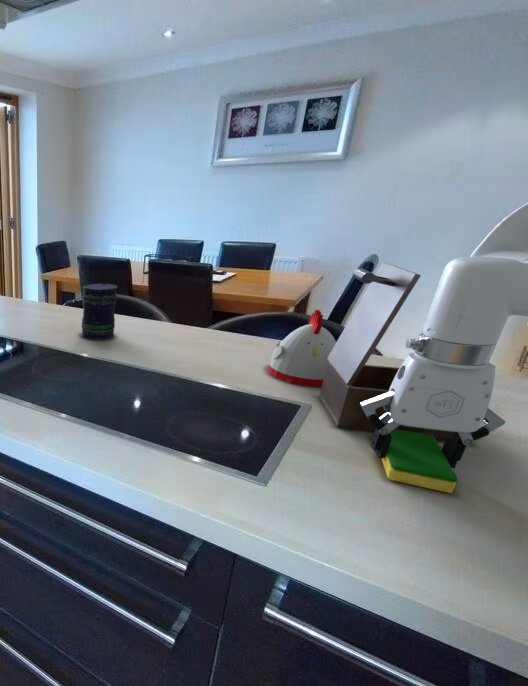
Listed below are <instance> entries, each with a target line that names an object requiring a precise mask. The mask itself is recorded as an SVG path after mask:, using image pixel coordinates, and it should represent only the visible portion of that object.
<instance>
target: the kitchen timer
mask: <svg viewBox="0 0 528 686" xmlns="http://www.w3.org/2000/svg"><path fill="white" fill-rule="evenodd" d="M323 317H324V314H322V311H321V310H320V309H314V312H313V313H311V316H309V317H308V324H305V325H302V326H300V327H298V328H296V329H294V330H293V331H291V332H290V333H288V335H287V336H285V338H283V339H282V340H281V341H280V340H278V341H277V343H276V346H275V347H274V350H273V352H272V356H271V358H270V361H269V364H268V369H267V371H268V373H269V374H270V375H271V376H272V377H274V378H276V379H278V380H280V381H283V382H287V383H289V384H292V385H298V386H299V385H300V386H304V387H314V388H317V387H318V388H319V387H320V388H321V387H322V384H323V380H324V376H325V373H326V369H327V365H328V362H329V361H328V359H327V358H328V356H329V354H330V353H331V351H332V349H333V348H334V346H335V344H336V342H337V340H336V339H335V337H334V336H333V335H332V333H331V332H330V331H329V330H328V329H326V327H323V325H324V321H323Z"/></svg>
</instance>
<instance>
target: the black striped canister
mask: <svg viewBox="0 0 528 686" xmlns="http://www.w3.org/2000/svg"><path fill="white" fill-rule="evenodd" d="M82 287H83V288H82V289H83V291H82V307H83V309H82V310H83V311H82V318H81V336H82V338H83V339H87V340H91V341H106V340H111V339H113V338H114V337H115V336H114V335H115V334H114V333H115V329H116V328H115V327H116V322H115V321H116V318H115V309H116V304H117V297H118V296H117V290H118V286H117V285H116V284H112V283H106V282H100V283H99V282H96V283H87V284H84V285H83V286H82Z"/></svg>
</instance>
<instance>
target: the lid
mask: <svg viewBox="0 0 528 686" xmlns="http://www.w3.org/2000/svg"><path fill="white" fill-rule="evenodd" d="M352 277H353V278H354V279H356V280H358V281H359V282H361V283H363V284H366V285H368V284H369V285H368V287H367V288H366V290H365V292H364V294H363V296H362V297H361V299H360V301H359V303H358V304H357V306H356V308H355V310H354V311H353V313H352V315H350V318H349V320H348V322H347V324H346V325H345V327H344V328H343V330H342V332H341V334H340V335H339V337H338V339H337V340H336V344H335V346H334V348H333V349H332V351H331V353H330V354H329V356H328V358H327V359H328V361H329V362H330V363H331V365H332V366H333V367H334V368H335V370H336V371H337V372H338V374H339V375H340V376H341V377H342V379H343V380H344V381H345V382H346V384H347V385H351V386H352V385H353V383H354V381H355V380H356V378H357V377H358V375H359V373H360V372H361V370H362V369H363V367H364V365H367V362H368V361H369V359H370V357H371V356H372V354H373V353H374V351H375V349H376V348H377V346H379V344H380V341H381V340H382V339H383V337H384V335H385V333H386V332H387V331H388V329H389V327H390V325H391V324H392V323H393V321H394V319H395V318H396V316H397V314H398V313H399V312H400V310H401V308H402V306H403V305H404V303H406V300H407V299H408V297H409V295H410V293H412V290H413V289H414V287H415V286H416V285H417V283H418V281H419V279H420V278H421V277H422V276H421V274H420V273H416V272H414V271H411V270H409V269H406V268H403V267H400V266H397V265H395V264H392V263H390V262H385V261H382V262H381V265H380V266H379V268H378V270H377V272H376V273H375V274H374V273H373V272H371V271H369V270H366V269H364V268H362V267H361V268H360V267H359V268H356V269H355V270H354V271H353V272H352Z"/></svg>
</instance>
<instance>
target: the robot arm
mask: <svg viewBox="0 0 528 686" xmlns="http://www.w3.org/2000/svg"><path fill="white" fill-rule="evenodd" d="M427 313H428V314H427V316H426V318H425V322H424V325H423V327H422V331H421V333H419V334H418V337H417V338H408V339H406V341H405V348H406V349H412V350H413V351H414V352H409V353H408V354H407V356H406V357H405V359H404V360H403V362H402V364H401V365H400V367H398V368H399V370H398V372H397V374H396V376H395V378H394V380H393V382H392V384H391V386H390V389H389V391H388V393H385V394H382V395H379V396H377V397H374V398H371V399H368V400H365V401H363V402H361V403H360V406H361V408H362V410H363V411H364V413H365V415H366V417H367V418H368V419H369V421H370V422H371V423H372V424H373V425H374V427H375V428H376V430H375V432H373V436H372V439H371V442H370V448H371V449H372V451H373V452H374V453H375V455H376V456H377V458H378V459H382V458H385V456H386V453H387V451H388V448H389V445H390V442H391V439H392V436H391V435H390V432H391V431H393V430H394V429H395V428H397V427H398V426H400V425H403V426H409V427H417V428H425V429H433V430H441V431H450V432H453V435H449V436H448V437H447V438H446V440H445V441H444V443H443V445H442V448H441V450H442V451H443V453H444V455H445V457H446V459H447V460H448V462H449V464H450V466H451V468H452V469H455V468H456V466H457V464H458V462H460V461H461V460H462V457H463V455H464V453H465V451H466V449H467V447H469V446H472V445H473V444H474V443H475V441H477V440H479V439H482V438H485V437H486V436H489V434H490V432H494V431H495V430H497V429H499V428H500V427H502V426H504V425H505V424H506V421H505V419H503V418H502V417H501V416H499V415H498V414H497V413H496V412H494V411H493V410H491V409H490V408H489V405H490V402H491V398H492V395H493V391H494V385H495V379H496V367H497V366H496V365H495V364H494V363H491V362H490V361H491V358H492V356H493V353H494V351H495V348H496V346H497V344H498V342H499V339H500V337H501V335H502V332H503V330H504V327H505V326H506V323H507V321H508V319H509V317H512V316H521V317H522V316H523V317H528V202H526V203H524V204H523V205H521V206H519V207H518V208H517V209H515V210H514V211H512V212H511V213H510V214H508V215H507V216H505V217H504V218H503V219H502V220H501V221H500V222H498V223H497V225H496V226H495V227H493V228H492V230H491V231H490V232H489V233H488V234H487V235H486V236H485V238H483V240H481V242H480V243H479V244H478V246H477V247H476V248H475V249H474V250H473V251H472V253H471V254H470V255H469V256H463V257H462V256H461V257H456V258H454V259H451V260H450V261H448V263H446V265H445V267H444V268H443V270H442V273H441V276H440V279H439V282H438V286H437V288H436V291H435V293H434V296H433V299H432V302H431V305H430V308H429V311H428V312H427ZM382 406H384V410H385V411H386V413H385V414H384V415H382V416H381V417H380V418H379V417H378V416H377V414H376V412H375V410H376V409H377V408H379V407H382Z"/></svg>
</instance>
